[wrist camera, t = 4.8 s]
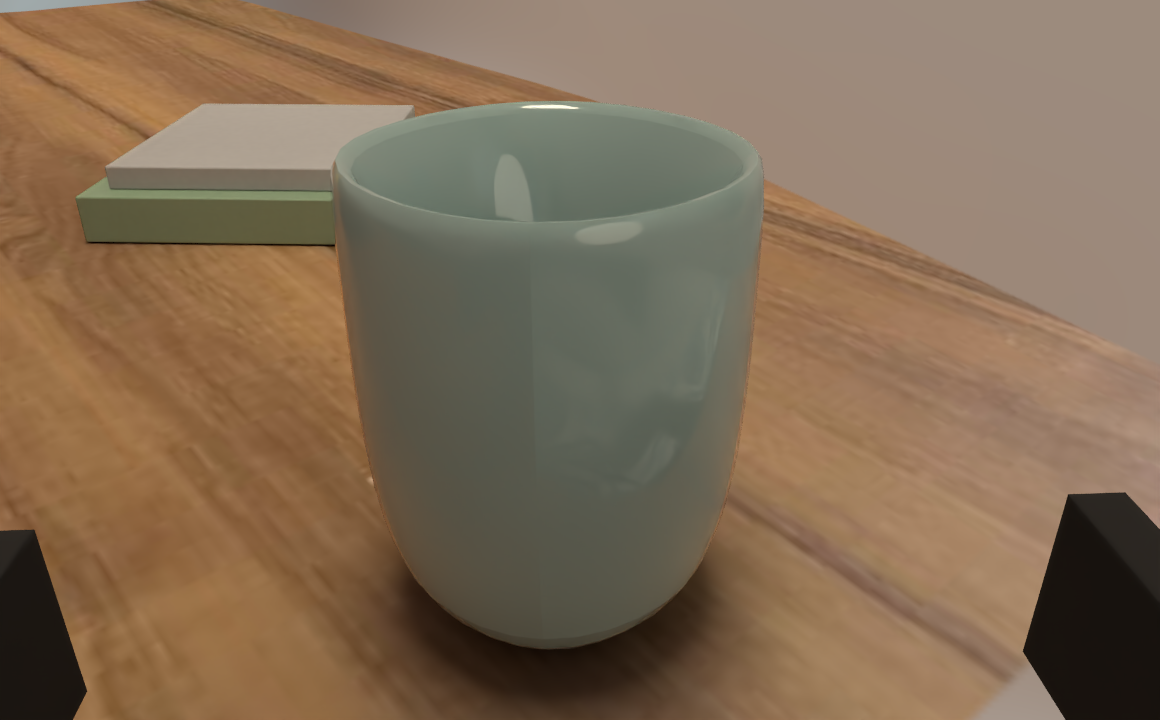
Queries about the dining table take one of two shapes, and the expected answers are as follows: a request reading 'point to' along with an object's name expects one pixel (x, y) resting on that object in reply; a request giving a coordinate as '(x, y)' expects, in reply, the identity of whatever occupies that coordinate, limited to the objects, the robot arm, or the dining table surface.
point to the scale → (231, 176)
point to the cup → (550, 352)
